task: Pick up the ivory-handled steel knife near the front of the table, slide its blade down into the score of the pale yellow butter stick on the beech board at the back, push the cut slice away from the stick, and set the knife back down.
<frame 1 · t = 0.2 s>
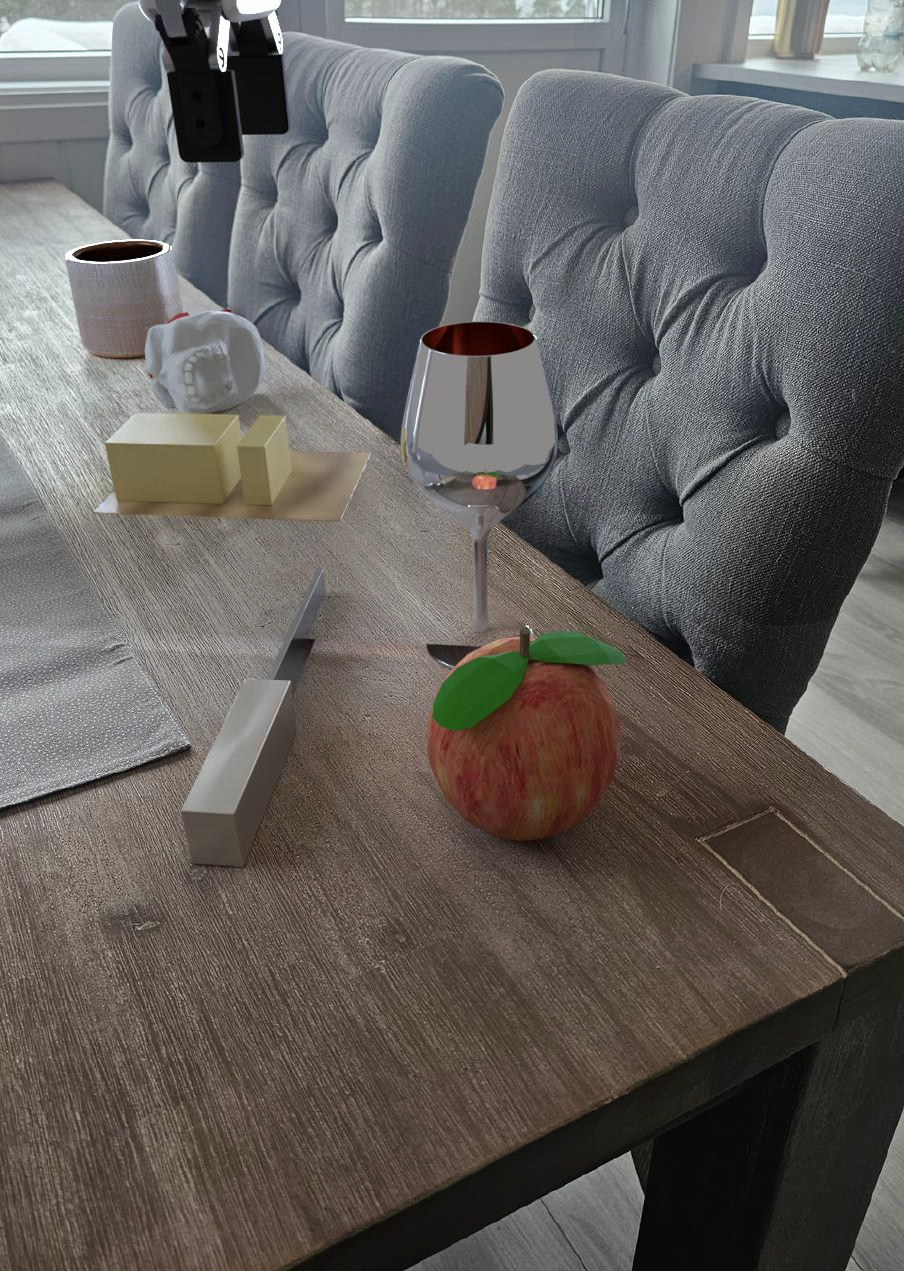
hand: (239, 146, 57), 26 cm above the table, tool pointing down, fingers open, 9 cm apart
fruit: (524, 813, 50), on the table
butter block: (183, 485, 79), point 1 cm above the table, touching board
wineglass: (480, 646, 62), on the table
butter slice: (269, 487, 78), point 1 cm above the table, touching board
knife: (275, 728, 55), on the table
board: (241, 495, 80), on the table
planter: (136, 346, 113), on the table
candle: (209, 408, 97), on the table
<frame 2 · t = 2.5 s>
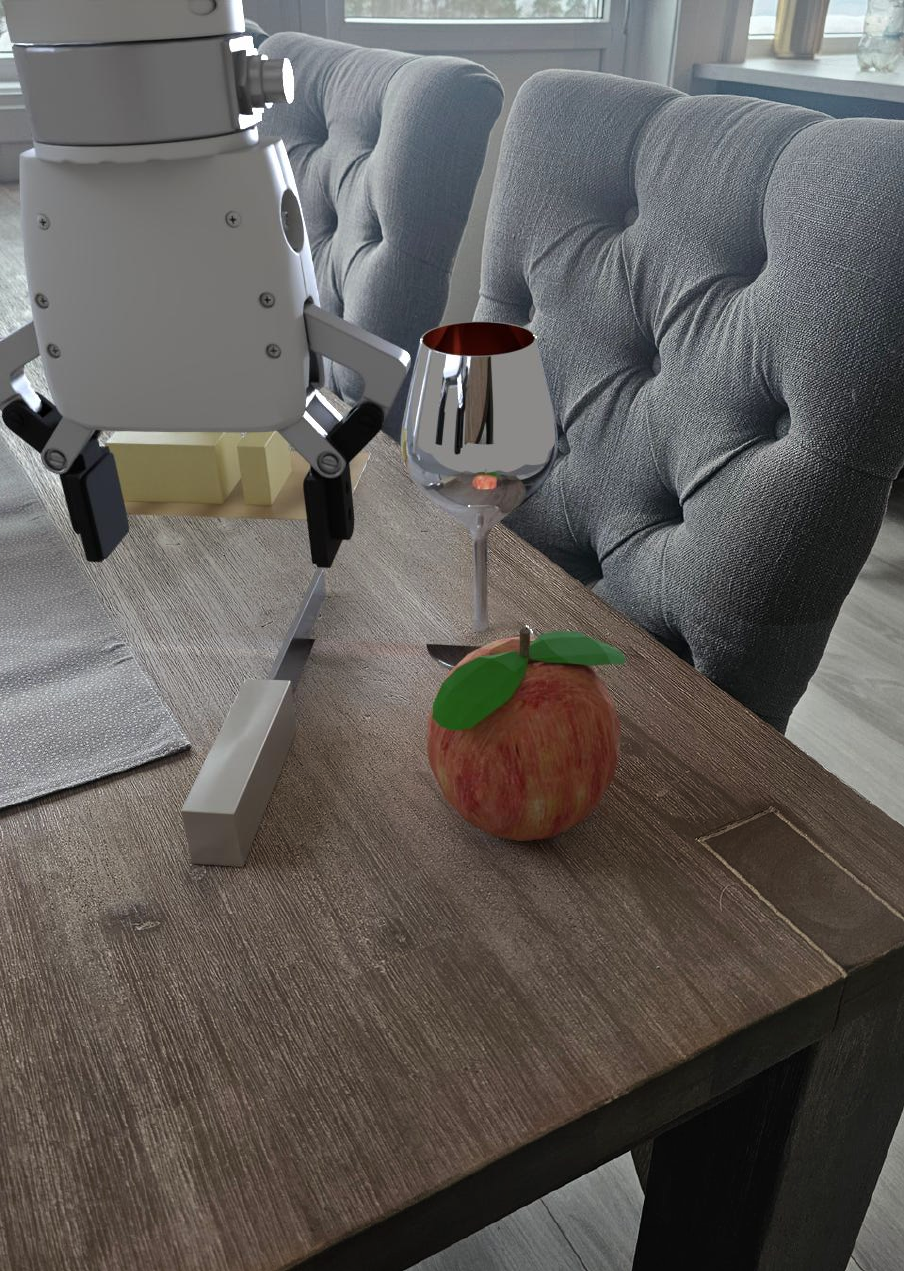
hand: (218, 550, 45), 13 cm above the table, tool pointing down, fingers open, 9 cm apart
nothing on the table moved.
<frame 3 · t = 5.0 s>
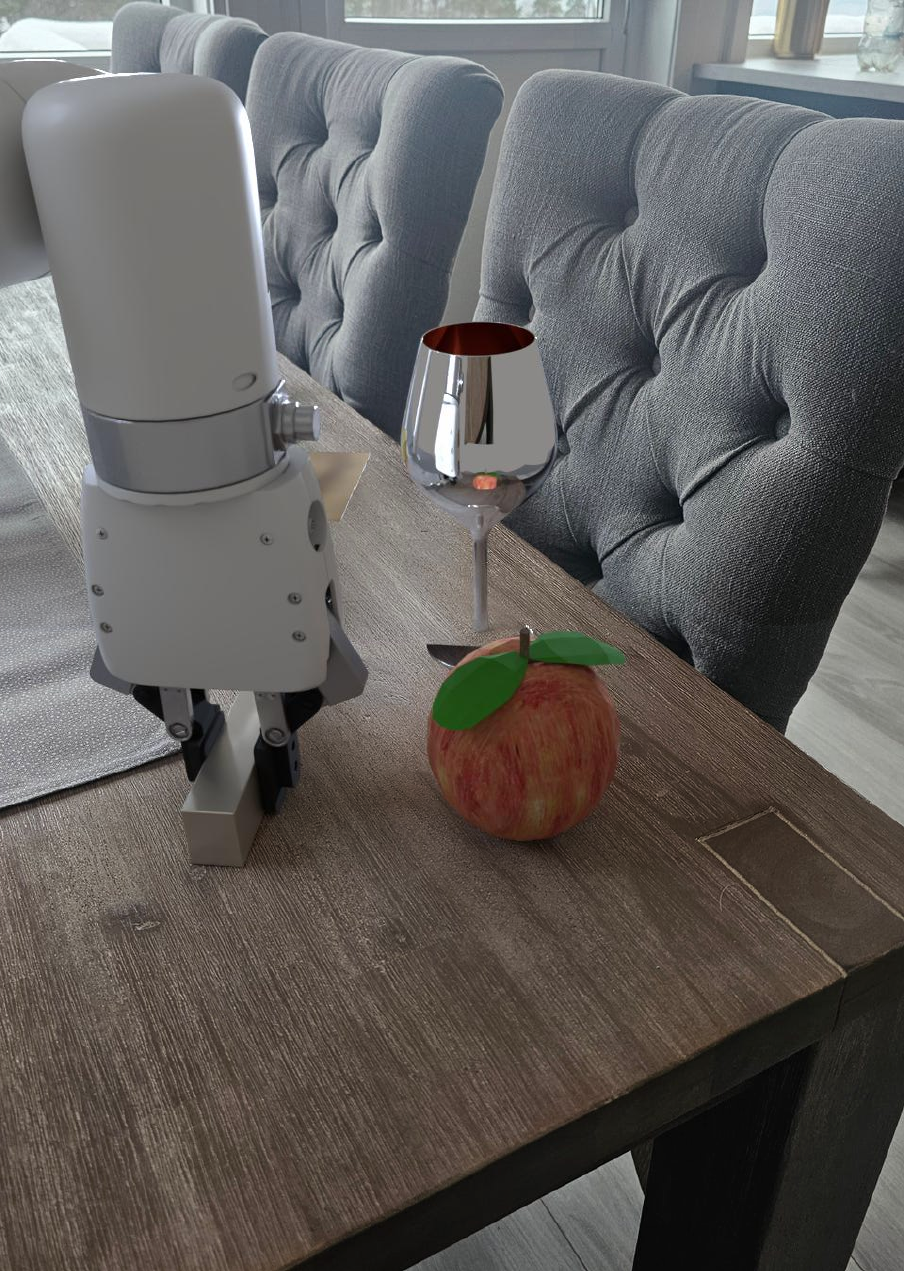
hand: (247, 789, 51), 0 cm above the table, tool pointing down, fingers closed on knife, 2 cm apart
knife: (274, 728, 55), on the table, touching gripper
everything else where it was.
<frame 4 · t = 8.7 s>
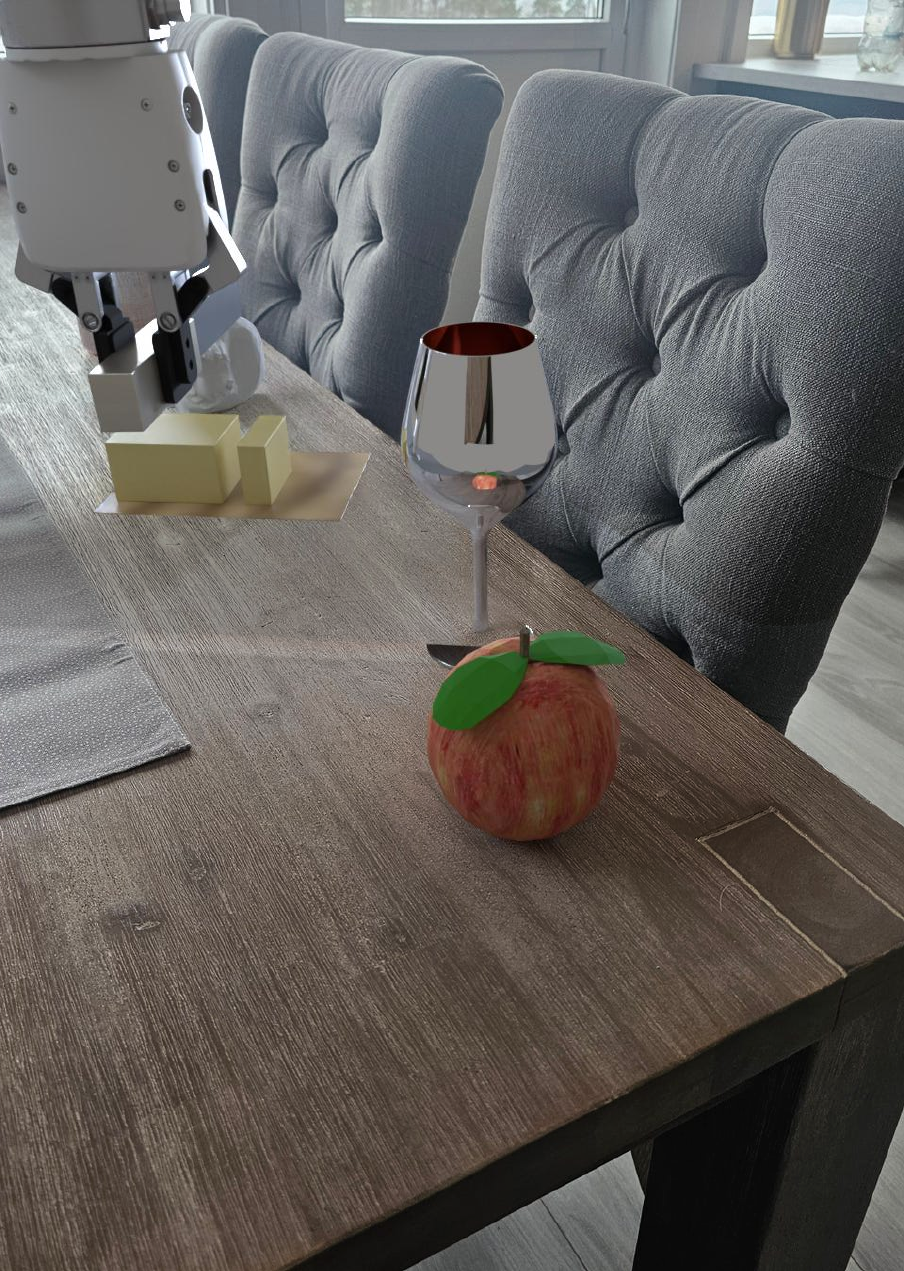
hand: (153, 392, 60), 13 cm above the table, tool pointing down, fingers closed on knife
knife: (184, 370, 64), point 13 cm above the table, touching gripper
everything else where it was.
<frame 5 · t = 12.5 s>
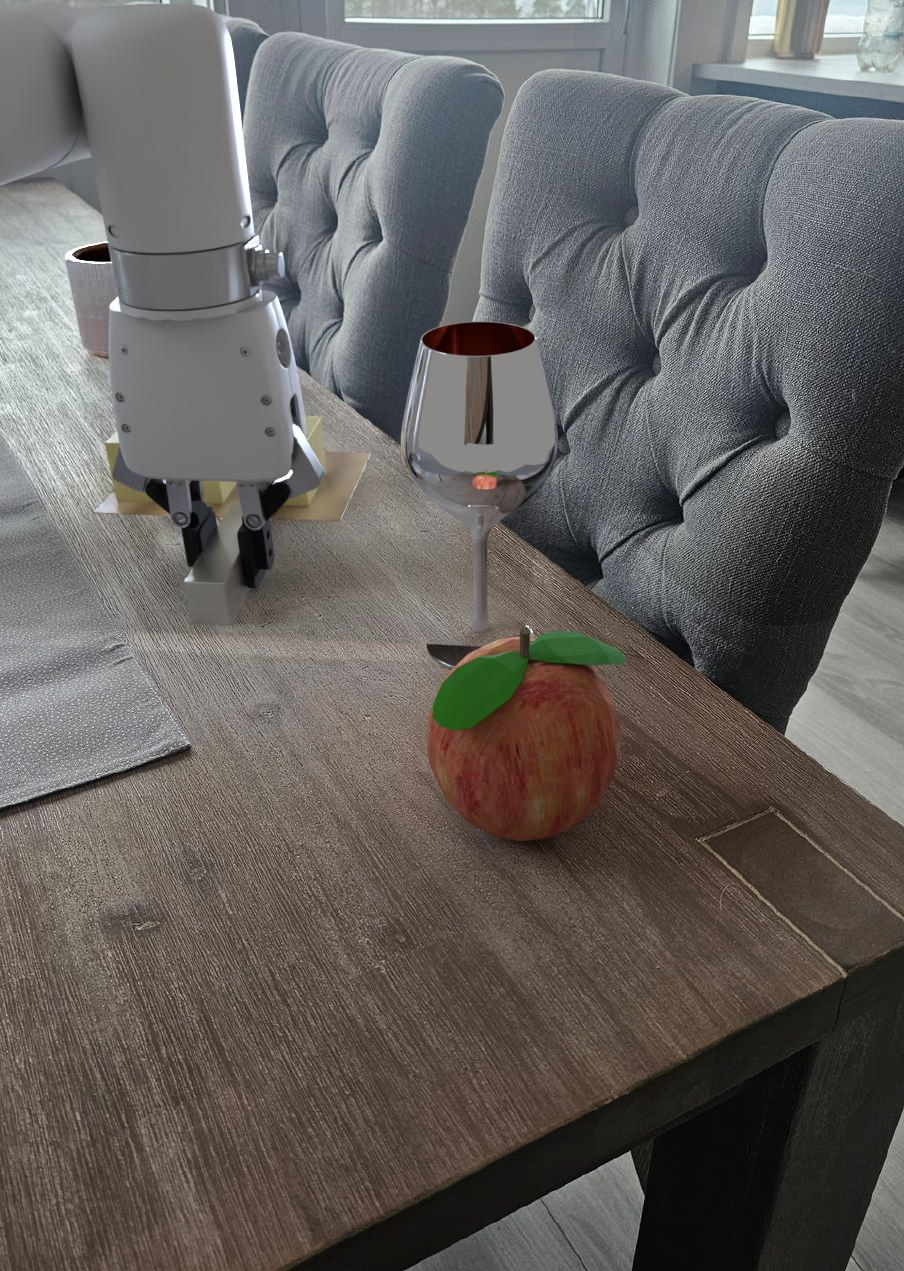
hand: (233, 574, 66), 2 cm above the table, tool pointing down, fingers closed on knife, 2 cm apart
butter slice: (304, 488, 78), point 1 cm above the table, touching board
knife: (256, 545, 70), point 1 cm above the table, touching gripper
everything else where it was.
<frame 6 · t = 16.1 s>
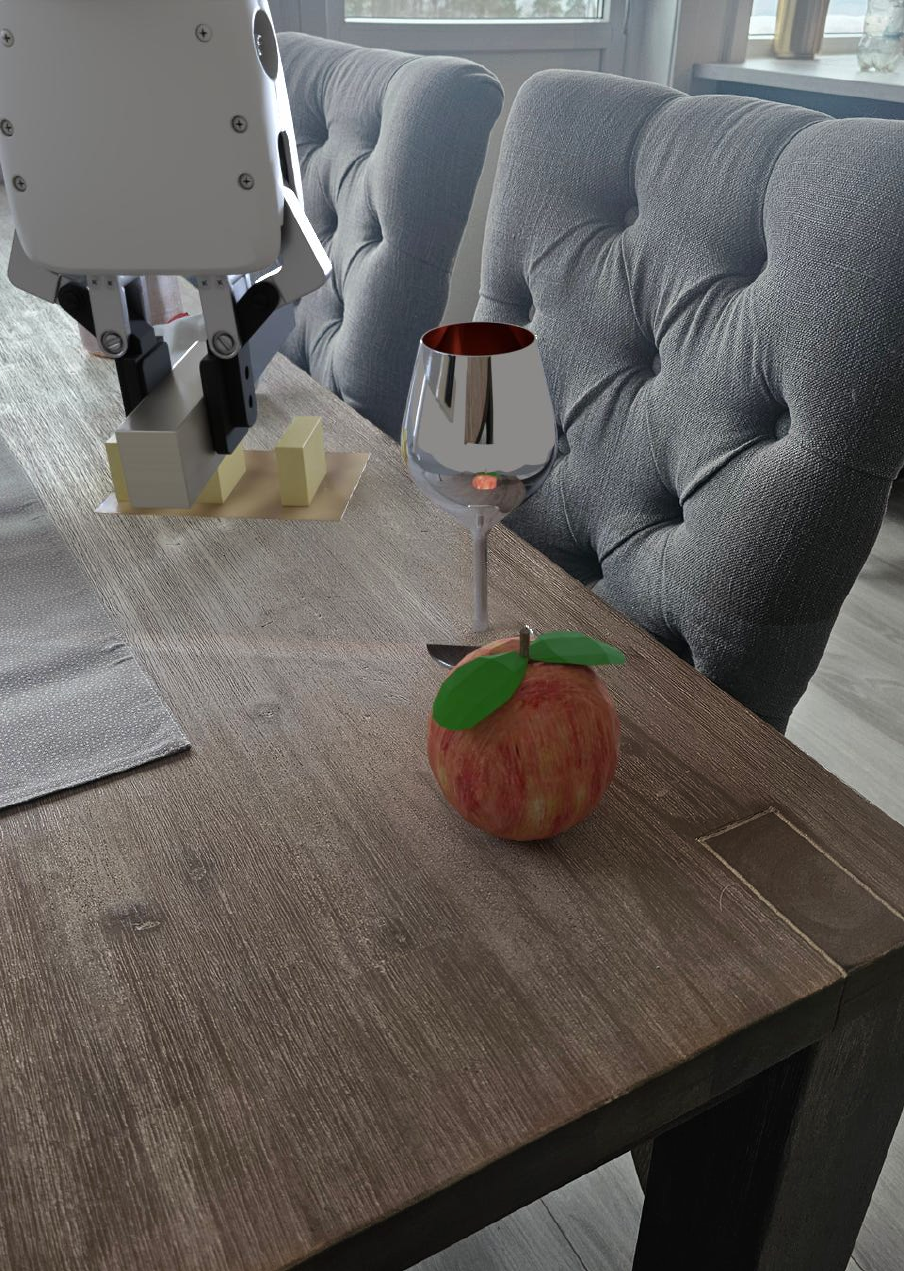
hand: (196, 438, 44), 17 cm above the table, tool pointing down, fingers closed on knife, 2 cm apart
knife: (232, 409, 49), point 16 cm above the table, touching gripper
everything else where it was.
when the fingers open (1 cm above the table, at t = 19.3 s): knife stays where it is, on the table.
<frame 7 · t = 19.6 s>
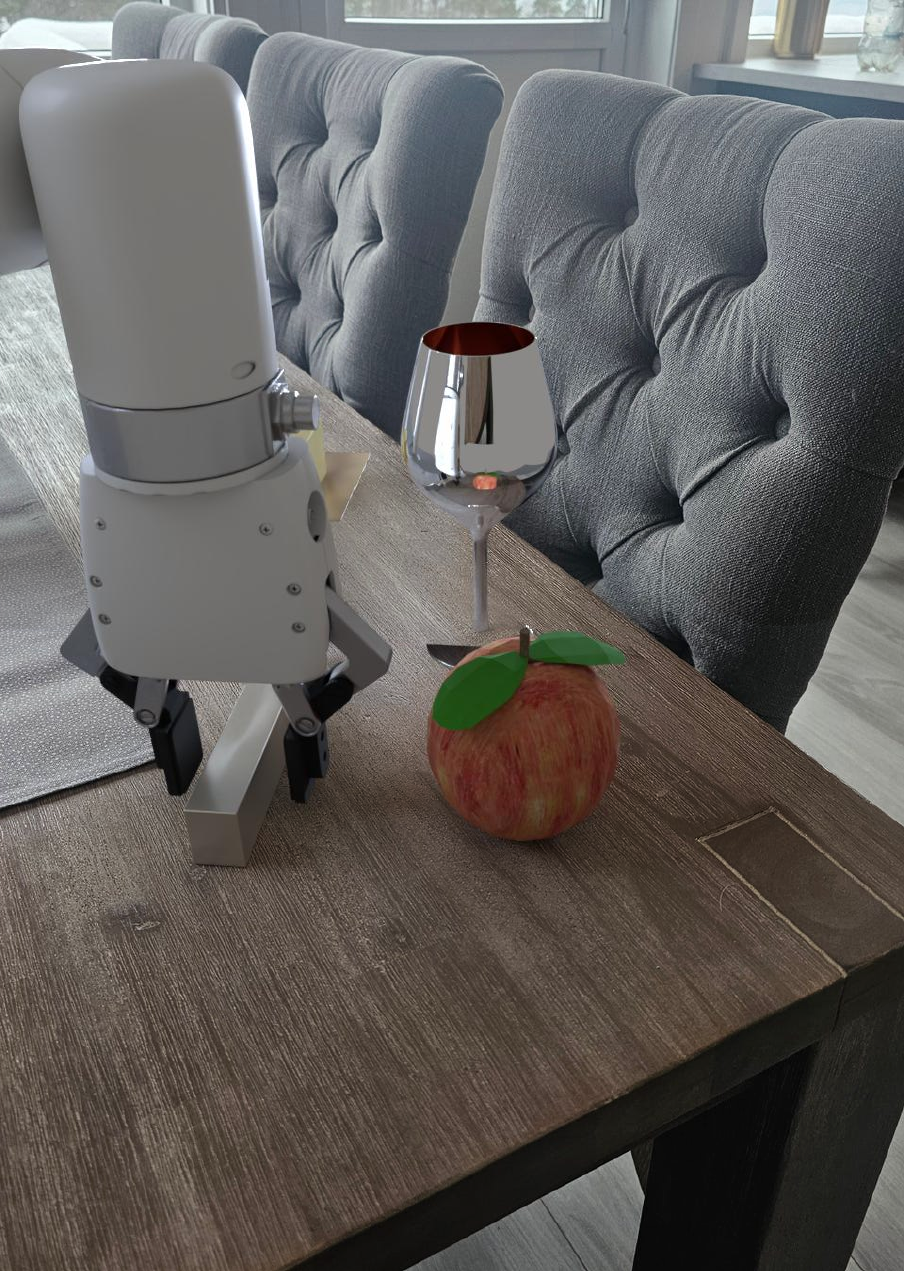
hand: (246, 777, 51), 1 cm above the table, tool pointing down, fingers open, 5 cm apart
knife: (277, 729, 55), on the table
everything else where it was.
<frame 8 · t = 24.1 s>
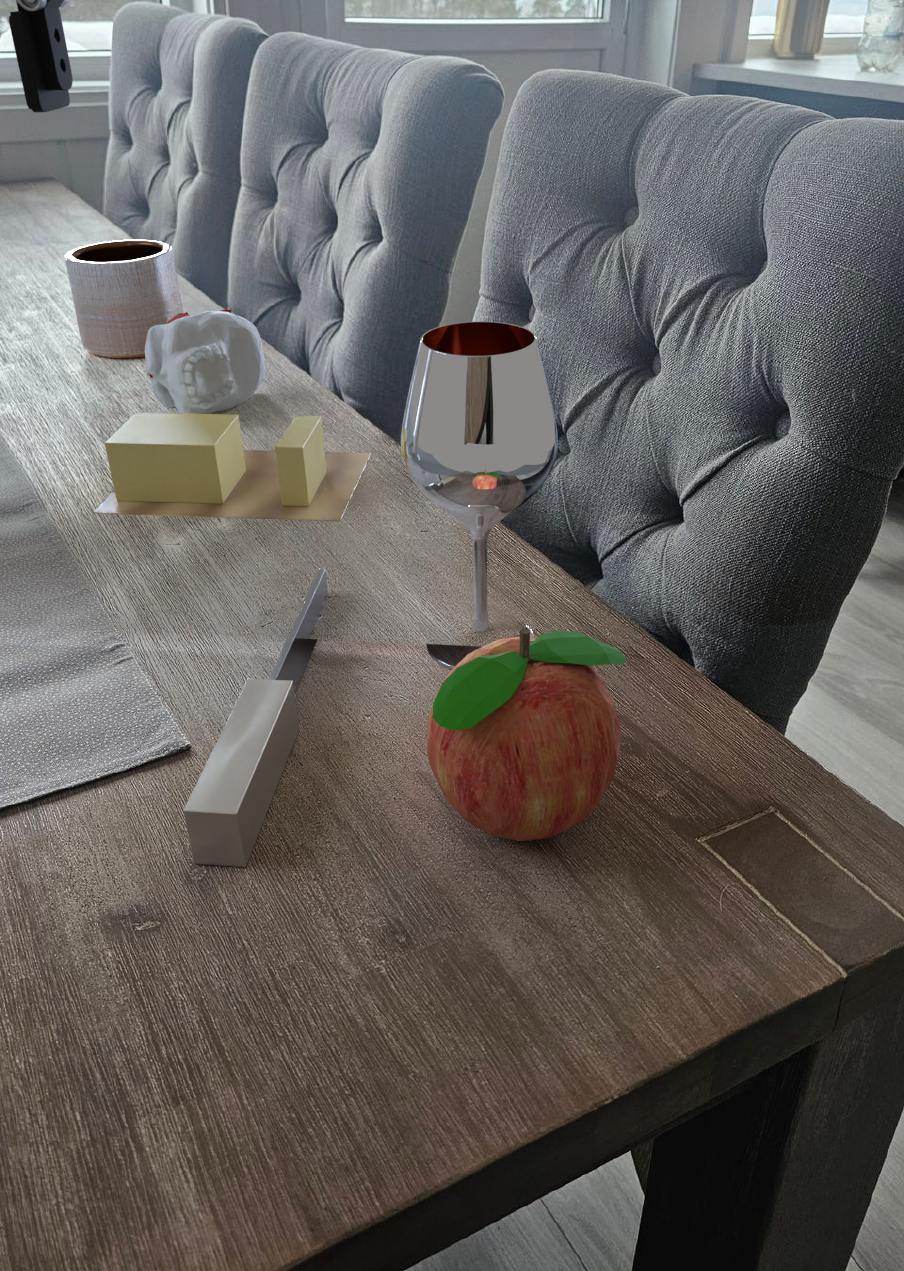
nothing on the table moved.
at the end: butter slice 1.1 cm from the target spot on the board, point 1.2 cm above the board's base; butter block moved 0.0 cm from its start; the gripper is holding nothing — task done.
